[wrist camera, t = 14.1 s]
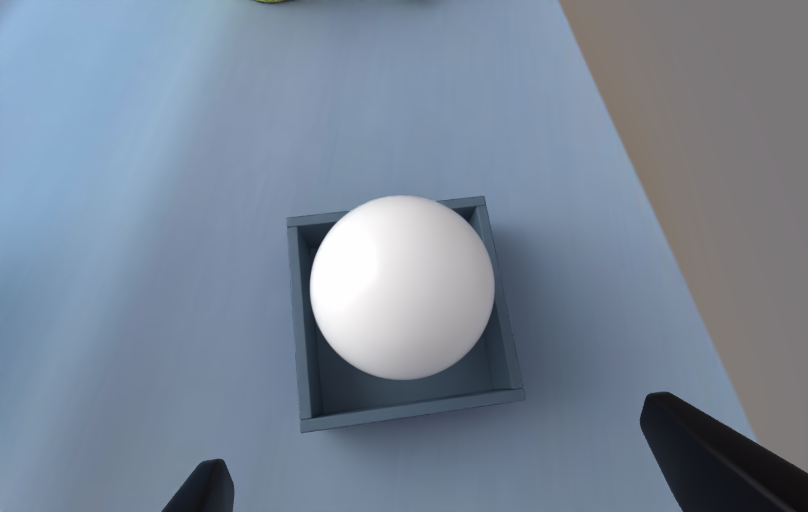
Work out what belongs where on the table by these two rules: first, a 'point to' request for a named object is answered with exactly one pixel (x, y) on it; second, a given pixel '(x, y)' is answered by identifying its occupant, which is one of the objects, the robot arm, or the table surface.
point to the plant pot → (270, 0)
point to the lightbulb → (402, 287)
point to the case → (383, 398)
